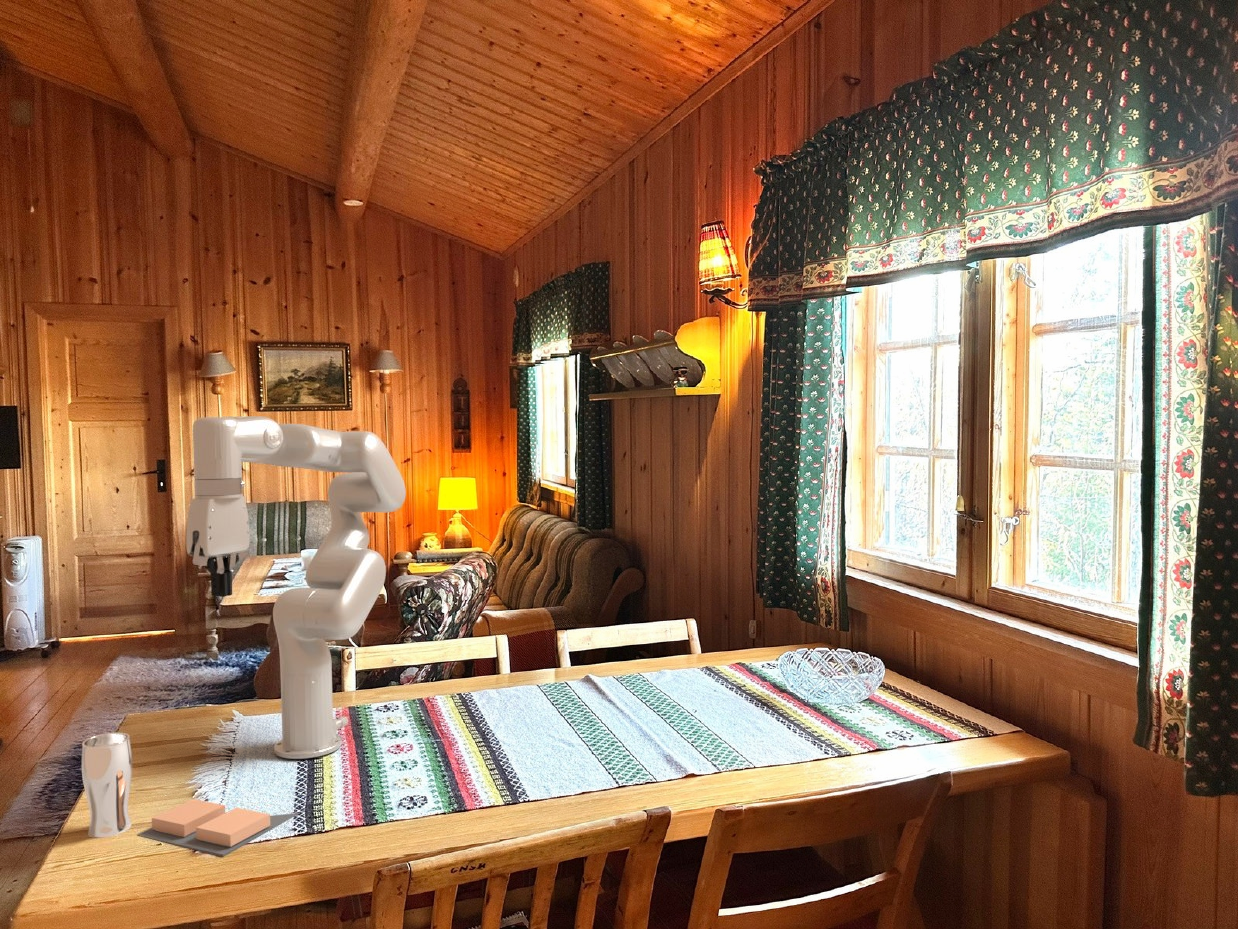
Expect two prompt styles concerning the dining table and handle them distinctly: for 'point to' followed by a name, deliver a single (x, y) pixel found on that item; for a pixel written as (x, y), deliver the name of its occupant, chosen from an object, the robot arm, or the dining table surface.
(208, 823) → the peach flat block
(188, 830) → the terracotta tile
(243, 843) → the rubber mat
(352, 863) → the dining table surface
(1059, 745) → the dining table surface
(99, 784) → the beer glass
